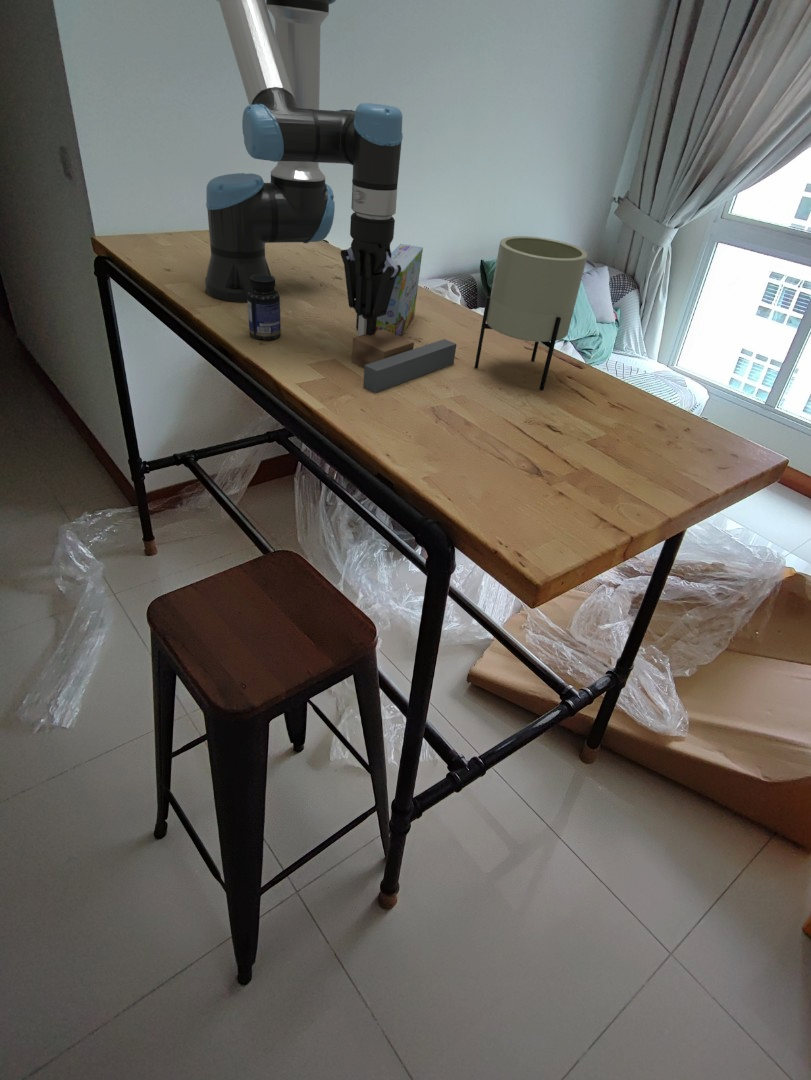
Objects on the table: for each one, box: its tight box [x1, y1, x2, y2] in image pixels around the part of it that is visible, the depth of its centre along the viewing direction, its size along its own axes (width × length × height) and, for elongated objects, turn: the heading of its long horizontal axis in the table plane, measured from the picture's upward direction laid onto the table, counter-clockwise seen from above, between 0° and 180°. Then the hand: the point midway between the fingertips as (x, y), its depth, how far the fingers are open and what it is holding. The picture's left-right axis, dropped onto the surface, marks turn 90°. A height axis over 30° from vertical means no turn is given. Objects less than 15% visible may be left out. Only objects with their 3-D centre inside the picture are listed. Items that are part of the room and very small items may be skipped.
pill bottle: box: [247, 275, 282, 341], centre depth 124 cm, size 6×6×11 cm
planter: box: [474, 235, 588, 392], centre depth 118 cm, size 15×16×23 cm
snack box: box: [376, 243, 424, 337], centre depth 133 cm, size 21×6×15 cm, turn 168°
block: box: [351, 329, 415, 369], centre depth 120 cm, size 8×8×5 cm
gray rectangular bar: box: [362, 338, 457, 393], centre depth 118 cm, size 3×22×4 cm, turn 138°
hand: (364, 349), depth 123 cm, fingers closed
